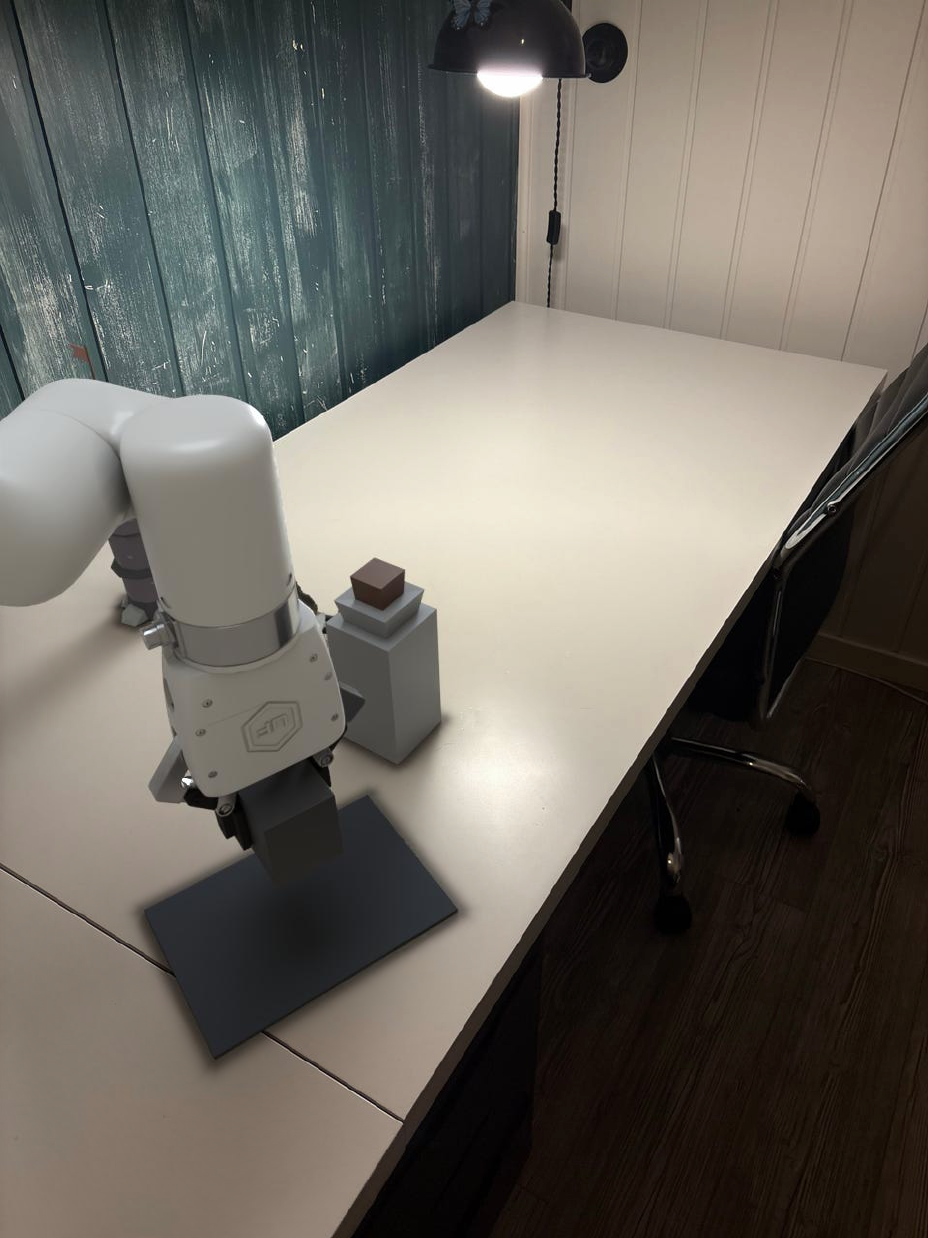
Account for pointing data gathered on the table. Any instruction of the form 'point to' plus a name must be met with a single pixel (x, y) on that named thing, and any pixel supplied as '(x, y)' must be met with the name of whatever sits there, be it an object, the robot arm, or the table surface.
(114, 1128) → the table surface
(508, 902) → the table surface
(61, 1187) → the table surface
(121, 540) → the model tower
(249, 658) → the robot arm
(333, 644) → the perfume bottle
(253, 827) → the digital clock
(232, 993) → the rubber mat
